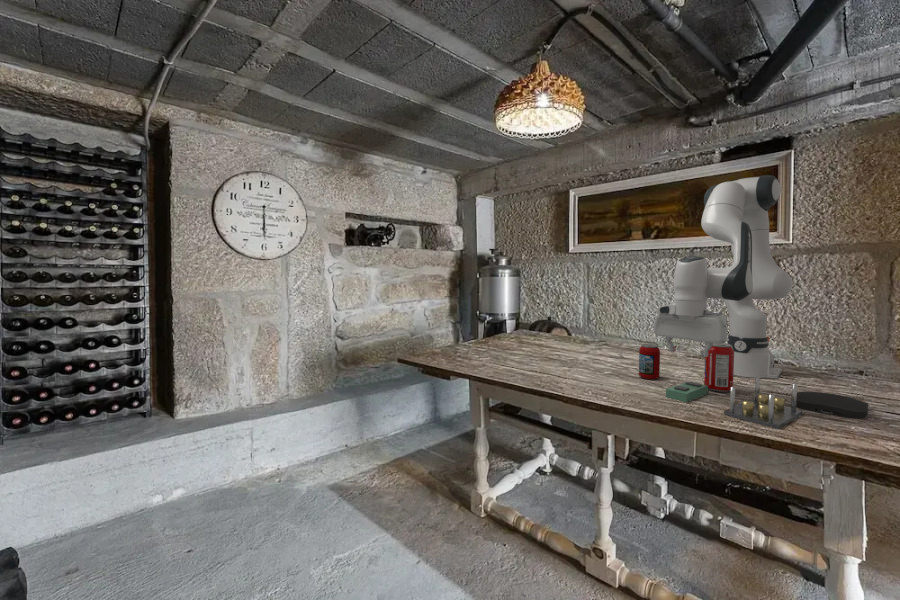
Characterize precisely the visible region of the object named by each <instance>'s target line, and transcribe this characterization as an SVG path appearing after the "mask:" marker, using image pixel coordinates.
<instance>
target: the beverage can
mask: <svg viewBox="0 0 900 600" xmlns="http://www.w3.org/2000/svg"><path fill="white" fill-rule="evenodd" d="M638 355H639V356H638V376H639V377H641V378H642V379H644V380H648V381H650V380H652V381H653V380H655V381H656V380H657V379H659V378H660V372H661V371H660V370H661V369H660V368H661V367H660V366H661V349H660V348H659V345H657V344H652V343H643V344H641V346H640V347H639V351H638Z"/></svg>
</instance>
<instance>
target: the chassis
mask: <svg viewBox="0 0 900 600" xmlns="http://www.w3.org/2000/svg"><path fill="white" fill-rule="evenodd" d="M760 383H761V378H760V377H756V378H755V383H754V384H755V385H754V399H751V398H749V399H745V400H742V401H741V402H740V403H738V404H737V405H735V403H736V387H735V386H733V387H731V391H729V392H730V394H729V408H728V409H725V410H724V411H723V415H724V414H725V415H724V416H726V415H729V416H728V417H730V416H732V418H734V419H739V420H742V419H743V421H746V422H750V423H755V424H758V425H762V426H765V427H770V428H773V429H776V430H780V429H781V428H783V427H784V425H785V426H786V425H788V424H790V423H791V422H792V420H793V421H794V420H796V419H798V418H799V417H800V415H801V416H802V415H803V409H801V410H800V409H797V407H796V401H797V392H798V383H796V382H795V383H792V384H791V404H790V405H791V406H790V407H787V406H785V397H780V396H775V395H774V394H769V395H768V394H767V393H766V394H765V393H760V385H761V384H760Z"/></svg>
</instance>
